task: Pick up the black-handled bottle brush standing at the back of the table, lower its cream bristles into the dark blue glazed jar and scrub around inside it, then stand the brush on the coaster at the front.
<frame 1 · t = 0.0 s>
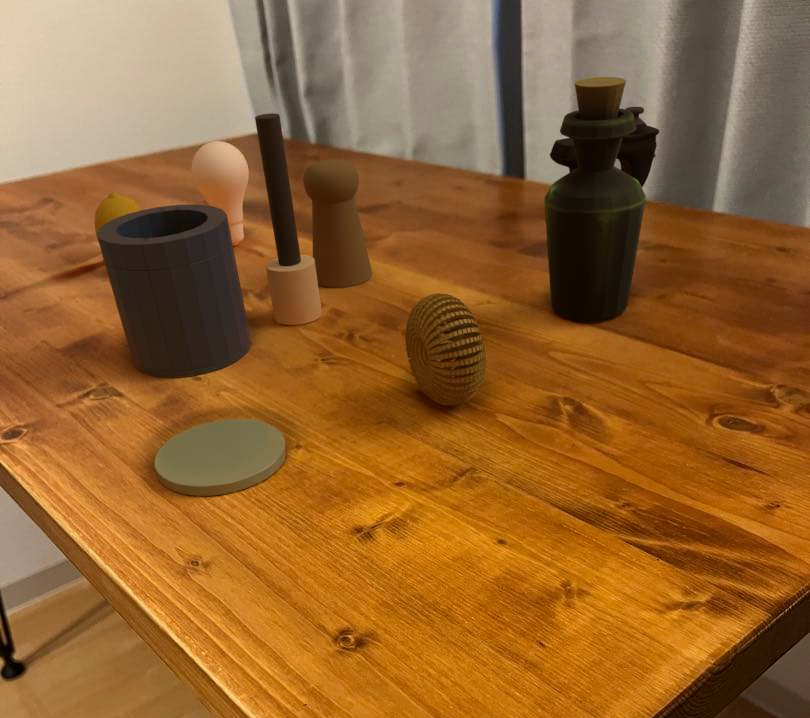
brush: (298, 315, 81), on the table
cork: (342, 278, 89), on the table
lightbulb: (234, 247, 100), on the table
potion bottle: (588, 310, 77), on the table
lemon: (133, 270, 96), on the table
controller: (601, 210, 100), on the table
sculpture: (447, 402, 65), on the table
jar: (192, 351, 76), on the table
coaster: (222, 460, 61), on the table
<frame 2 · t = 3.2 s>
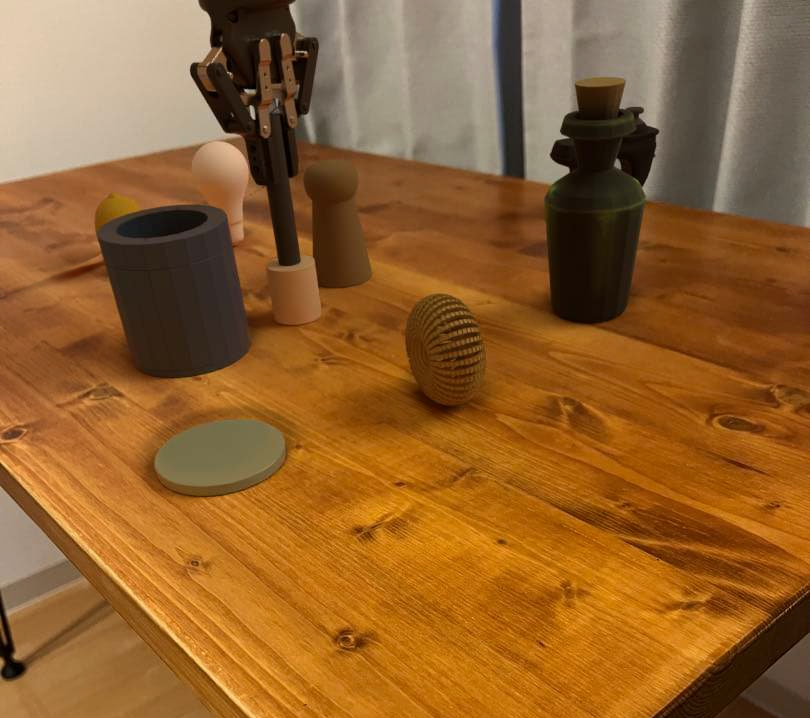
hand: (276, 179, 74), 12 cm above the table, tool pointing down, fingers closed on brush, 2 cm apart
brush: (298, 315, 81), on the table, touching gripper
everything else where it was.
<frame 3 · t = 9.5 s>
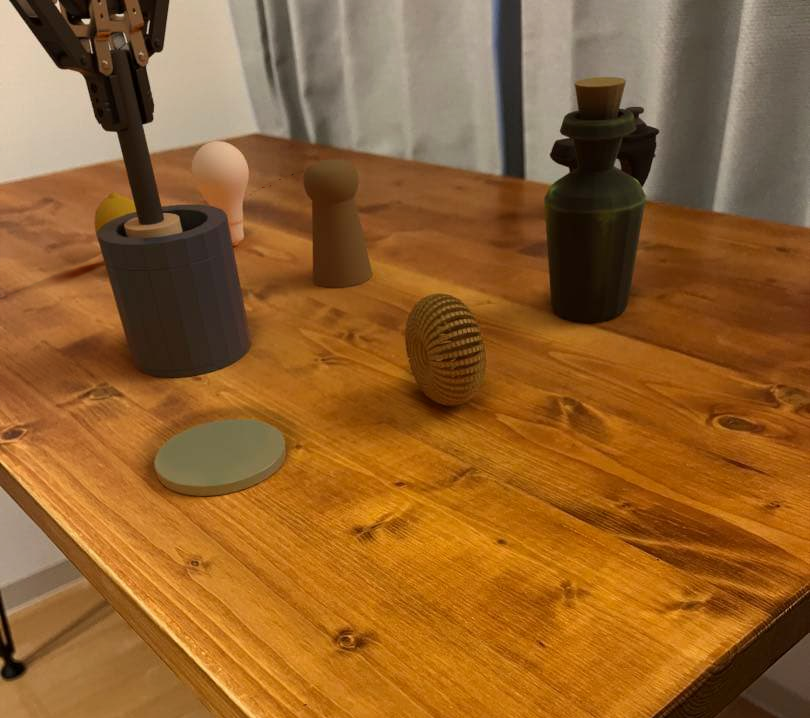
hand: (128, 125, 66), 18 cm above the table, tool pointing down, fingers closed on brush
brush: (166, 282, 73), point 6 cm above the table, touching gripper
everything else where it was.
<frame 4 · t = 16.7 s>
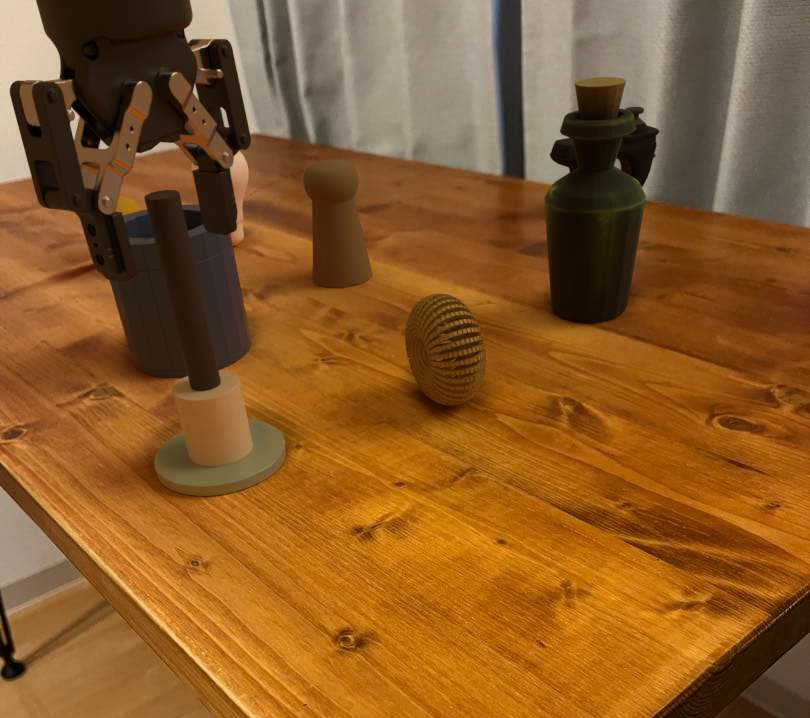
hand: (173, 254, 52), 14 cm above the table, tool pointing down, fingers open, 8 cm apart
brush: (221, 450, 60), point 1 cm above the table, touching coaster
everything else where it was.
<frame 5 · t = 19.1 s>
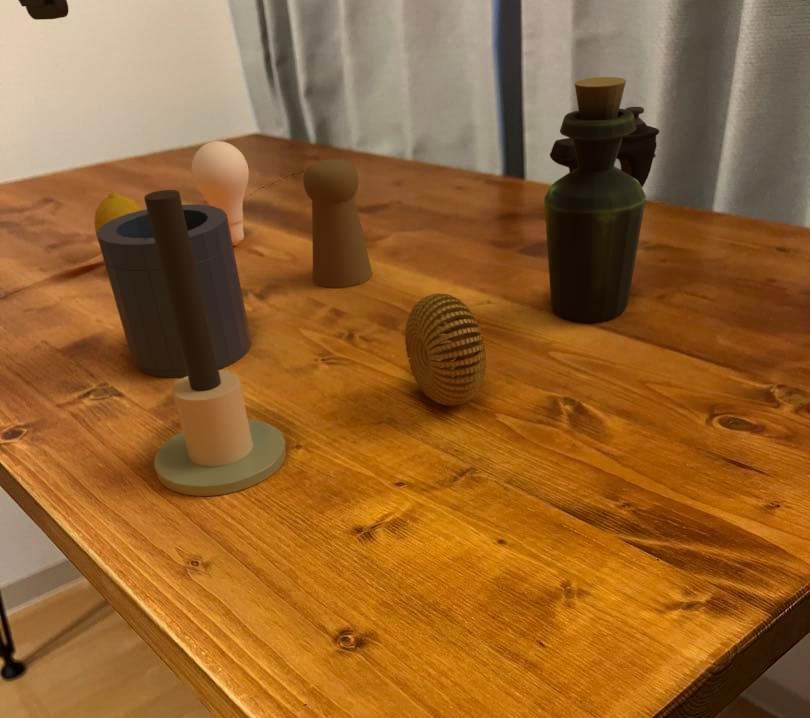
hand: (115, 6, 45), 27 cm above the table, tool pointing down, fingers open, 8 cm apart
nothing on the table moved.
at the end: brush 0.1 cm off-centre on the coaster, point 0.8 cm above the coaster's base; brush tilted 0°; the gripper is holding nothing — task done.
